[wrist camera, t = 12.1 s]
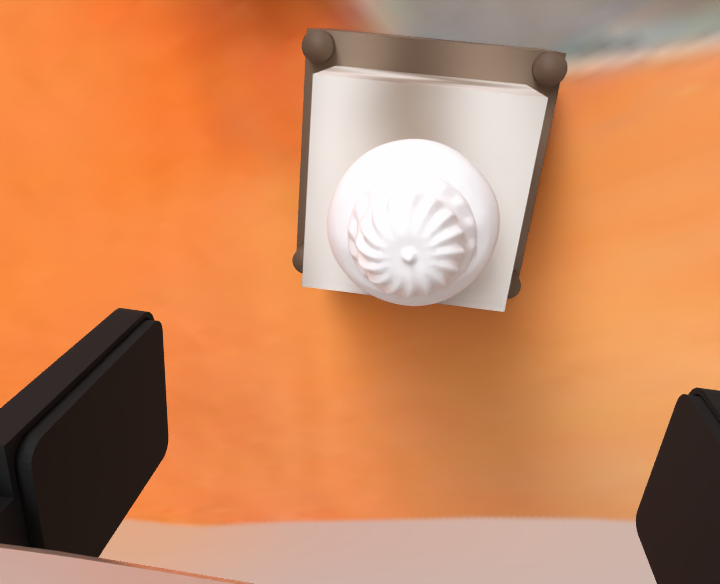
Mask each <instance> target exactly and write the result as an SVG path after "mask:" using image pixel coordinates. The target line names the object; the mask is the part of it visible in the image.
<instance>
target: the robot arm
mask: <svg viewBox="0 0 720 584" xmlns="http://www.w3.org/2000/svg"><path fill="white" fill-rule="evenodd" d="M167 446H168V422H167V403H166V385H165V366H164V348H163V330H162V325H161V323H160V322H159V321H154V318H153V315H152V314H151V313H150V312H145V311H138V310H131V309H123V308H118V309H117V310H115V311H114V312H113V313H112V314H110V315H109V316H108V317H107V318H106V319H105V320H103V321H102V322H101V323H100V324H99V325H98V326H96V327H95V328H94V329H93V330H92V331H90V332H89V333H88V334H87V335H86V336H85V337H83V338H82V339H81V340H80V341H79V342H78V343H76V344H75V345H74V346H73V347H72V348H71V349H69V350H68V351H67V352H66V353H65V354H64V355H62V356H61V357H60V358H59V359H58V360H57V361H55V362H54V363H53V364H52V365H51V366H49V367H48V368H47V369H46V370H45V371H44V372H42V373H41V374H40V375H39V376H38V377H37V378H35V379H34V380H33V381H32V382H31V383H30V384H28V385H27V386H26V387H25V388H24V389H23V390H21V391H20V392H19V393H18V394H17V395H16V396H14V397H13V398H12V399H11V400H10V401H8V402H7V403H6V404H5V405H4V406H3V407H1V408H0V584H253V583H247V582H241V581H235V580H229V579H223V578H217V577H210V576H204V575H199V574H193V573H187V572H181V571H175V570H168V569H163V568H157V567H151V566H145V565H139V564H132V563H127V562H121V561H115V560H109V559H103V558H98V557H99V556H100V554H101V553H102V551H103V549H104V548H105V546H106V545H107V543H108V542H109V540H110V539H111V537H112V535H113V534H114V533H115V531H116V530H117V528H118V527H119V525H120V524H121V522H122V520H123V519H124V517H125V516H126V514H127V513H128V511H129V510H130V508H131V507H132V505H133V504H134V502H135V501H136V499H137V498H138V496H139V494H140V493H141V491H142V490H143V488H144V487H145V485H146V484H147V482H148V481H149V479H150V478H151V476H152V475H153V473H154V472H155V470H156V469H157V467H158V465H159V464H160V462H161V461H162V459H163V457H164V456H165V453H166V450H167ZM636 527H637V532H638V536H639V538H640V541H641V543H642V546H643V548H644V551H645V554H646V556H647V559H648V561H649V564H650V567H651V569H652V572H653V574H654V577H655V580H656V582H657V584H720V391H717V390H710V389H703V388H694V389H693V390H692V391H691V392H690V393H689V395H686V394H683V395H681V396H680V397H679V398H678V400H677V402H676V405H675V408H674V411H673V414H672V416H671V419H670V422H669V425H668V427H667V430H666V433H665V436H664V439H663V441H662V444H661V447H660V450H659V452H658V455H657V458H656V461H655V463H654V466H653V469H652V472H651V475H650V477H649V480H648V483H647V486H646V488H645V491H644V494H643V497H642V500H641V502H640V505H639V508H638V511H637V516H636Z"/></svg>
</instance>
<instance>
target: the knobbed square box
mask: <svg viewBox="0 0 720 584" xmlns="http://www.w3.org/2000/svg"><path fill="white" fill-rule="evenodd" d="M302 50H303V53H304V55H305V57H306V59H305V81H304V103H303V125H302V146H301V168H300V190H299V211H298V233H297V251H296V253H295V254H294V256H293V265H294V267H295V268H296V270H297V271H299V272H301V273H303V277H302V286H303V287H311V288H319V289H327V290H335V291H343V292H350V293H358V294H366V295H370V294H369V293H367V292H365V291H364V290H362V289H361V288H359V287H358V286H357V285H356V284H355V283H354V282H352V281H351V280H350V278H349V277H348V276H347V275H346V274H345V273H344V272H343V270H342V269H341V267H340V266H339V264H338V263H337V261H336V259H335V257H334V255H333V253H332V250H331V247H330V244H329V240H328V234H327V218H328V211H329V207H330V203H331V200H332V197H333V194H334V192H335V189H336V187H337V185H338V183H339V181H340V179H341V178H342V176H343V175H344V174H345V172H346V171H347V170H348V168H349V167H350V166H351V165H352V164H353V163H354V162H355V161H356V160H357V159H358V158H360V157H361V156H362V155H364V154H365V153H366V152H368V151H370V150H372V149H374V148H376V147H378V146H380V145H383V144H386V143H389V142H393V141H398V140H404V139H425V140H430V141H435V142H438V143H441V144H444V145H446V146H448V147H451V148H453V149H454V150H456V151H458V152H459V153H461V154H462V155H463V156H465V157H466V158H467V159H468V160H469V161H471V162H472V163H473V164H474V165H475V166H476V167H477V168H478V169H479V171H480V172H481V173H482V174H483V176H484V177H485V178H486V180H487V181H488V183H489V184H490V186H491V188H492V190H493V192H494V194H495V196H496V199H497V202H498V206H499V213H500V228H499V235H498V239H497V243H496V246H495V248H494V251H493V254H492V256H491V258H490V260H489V262H488V264H487V265H486V267H485V268H484V270H483V271H482V273H481V274H480V275H479V276H478V277H477V278H476V279H475V280H474V281H473V282H472V283H471V284H470V285H469V286H468V287H466V288H465V289H464V290H462V291H461V292H459V293H458V294H456V295H454V296H452V297H451V298H448V299H446V300H444V301H441V302H438V303H437V304H445V305H453V306H461V307H469V308H477V309H485V310H493V311H501V312H504V311H505V306H506V301H507V299H509V298H512V297H514V296H516V295H517V294H518V293H519V291H520V288H521V283H520V280H519V274H520V269H521V265H522V260H523V255H524V250H525V246H526V241H527V236H528V231H529V227H530V222H531V217H532V213H533V208H534V203H535V198H536V194H537V189H538V184H539V179H540V175H541V170H542V165H543V160H544V156H545V151H546V146H547V141H548V137H549V132H550V127H551V122H552V118H553V113H554V108H555V103H556V99H557V94H558V89H559V84H560V82H561V81H562V80H563V78H564V77H565V75H566V73H567V62H566V60H565V56H566V53H561V52H556V51H550V50H545V49H535V48H524V47H514V46H503V45H493V44H483V43H472V42H462V41H451V40H441V39H430V38H420V37H410V36H399V35H389V34H378V33H368V32H357V31H347V30H337V29H309V28H307V34H306V35H305V37H304V39H303V41H302Z"/></svg>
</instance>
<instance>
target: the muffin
mask: <svg viewBox="0 0 720 584" xmlns="http://www.w3.org/2000/svg"><path fill="white" fill-rule="evenodd" d="M499 228H500V213H499V206H498V202H497V199H496V196H495V194H494V192H493V190H492V188H491V186H490V184H489V183H488V181H487V180H486V178H485V177H484V176H483V174H482V173H481V172H480V171H479V169H478V168H477V167H476V166H475V165H474V164H473V163H472V162H471V161H469V160H468V159H467V158H466V157H465V156H463V155H462V154H461V153H459V152H458V151H456V150H454V149H453V148H451V147H448V146H446V145H444V144H441V143H438V142H435V141H430V140H425V139H404V140H398V141H393V142H389V143H386V144H383V145H380V146H378V147H376V148H374V149H372V150H370V151H368V152H366V153H365V154H364V155H362V156H361V157H360V158H358V159H357V160H356V161H355V162H354V163H353V164H352V165H351V166H350V167H349V168H348V170H347V171H346V172H345V174H344V175H343V176H342V178H341V179H340V181H339V183H338V185H337V187H336V189H335V192H334V194H333V197H332V200H331V203H330V207H329V211H328V218H327V234H328V240H329V244H330V247H331V250H332V253H333V255H334V257H335V259H336V261H337V263H338V264H339V266H340V267H341V269H342V270H343V272H344V273H345V274H346V275H347V276H348V277H349V278H350V280H351V281H352V282H354V283H355V284H356V285H357V286H358V287H359V288H361V289H362V290H364V291H365V292H367V293H369V294H370V295H372V296H375V297H377V298H379V299H381V300H384V301H387V302H390V303H394V304H399V305H406V306H424V305H430V304H435V303H438V302H441V301H444V300H446V299H448V298H451V297H452V296H454V295H456V294H458V293H459V292H461V291H462V290H464V289H465V288H466V287H468V286H469V285H470V284H471V283H472V282H473V281H474V280H475V279H476V278H477V277H478V276H479V275H480V274H481V273H482V271H483V270H484V268H485V267H486V265H487V264H488V262H489V260H490V258H491V256H492V254H493V251H494V248H495V246H496V243H497V239H498V235H499Z"/></svg>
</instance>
